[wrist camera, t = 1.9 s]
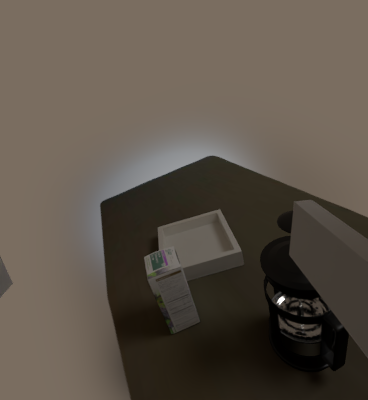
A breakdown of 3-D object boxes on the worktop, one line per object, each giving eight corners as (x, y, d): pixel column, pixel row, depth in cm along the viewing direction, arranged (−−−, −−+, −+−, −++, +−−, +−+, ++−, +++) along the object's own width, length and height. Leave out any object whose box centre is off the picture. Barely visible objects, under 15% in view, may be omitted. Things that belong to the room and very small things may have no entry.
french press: (254, 324, 41) (234, 214, 30) (299, 298, 43) (295, 186, 32) (310, 400, 31) (310, 275, 20) (365, 361, 33) (392, 229, 22)
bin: (222, 220, 68) (219, 209, 66) (244, 264, 52) (241, 251, 51) (162, 238, 68) (157, 227, 67) (165, 287, 53) (160, 274, 51)
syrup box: (165, 309, 48) (141, 256, 41) (193, 298, 48) (173, 243, 42) (171, 335, 43) (145, 280, 36) (202, 322, 43) (181, 265, 37)
